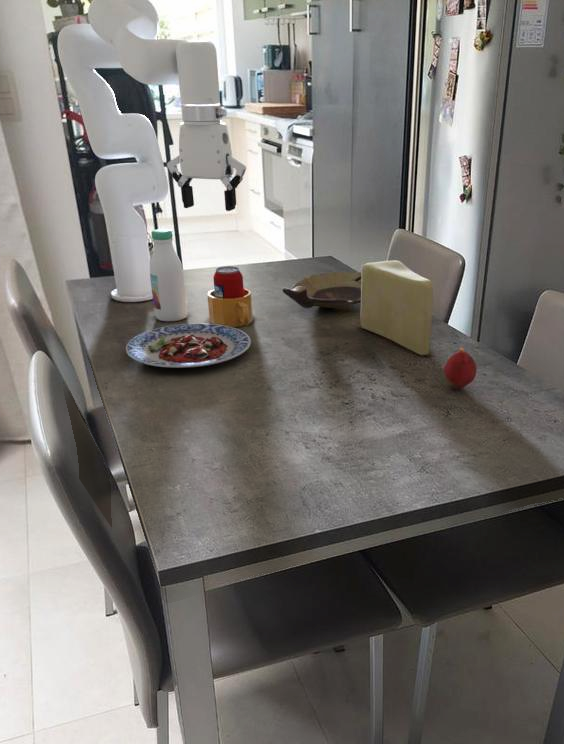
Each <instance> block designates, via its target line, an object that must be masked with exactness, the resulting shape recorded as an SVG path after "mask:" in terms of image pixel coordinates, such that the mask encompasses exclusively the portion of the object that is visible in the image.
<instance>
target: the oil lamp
mask: <svg viewBox="0 0 564 744" xmlns="http://www.w3.org/2000/svg"><path fill="white" fill-rule="evenodd" d="M361 276H362V271H333V272H322V273H317V274H312V275H310V276H308V277H307V276H306V277H304V278H302V279H300V280H299V281H297V282H296V283H295V284H294V285H293V286H292V288H288V287H283V288H282V290H281V291H282V293H283V294H284V295H286V296H287V297H289V298H290V299H292V301H294V302H295V303H296V304H297V305H299V306H300V307H301V308H303V309H310V308H313V307H317V308H318V307H319V308H326V309H327V308H328V309H330V308H331V309H335V308H345V307H350V306H352V305H357V304H361V282H359V281H360V280H361Z"/></svg>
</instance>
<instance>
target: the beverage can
mask: <svg viewBox="0 0 564 744" xmlns="http://www.w3.org/2000/svg"><path fill="white" fill-rule="evenodd" d="M244 288H245V286H244V276H243V273H242V272H241V270H240V268H239V267H238V266H232V265H226V266H219V267H217V268H216V269H215V272H214V274H213V290H214V291H215V298H221V299H234V298H239V297H243V296H244Z"/></svg>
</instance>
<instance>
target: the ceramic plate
mask: <svg viewBox="0 0 564 744" xmlns="http://www.w3.org/2000/svg"><path fill="white" fill-rule="evenodd" d="M251 342H252V341H251V338H250V336H249V335H248V333H246V332H244V331H243V330H241V329H239V328H236V327H229V326H224V325H218V324H212V323H203V322H202V323H201V322H200V323H199V322H197V323H196V322H195V323H179V324H173V325H172V324H171V325H166V326H160V327H157V328H153V329H151V330H147V331H144V332H142V333H140V334H138V335H136V336H134V337H133V338H132V339H130V340H129V341H128V343H127V344H126V345H125V352H126V354H127V355H128V357H129V358H131V359H132V360H134V361H136V362H138V363H141V364H144V365H147V366H153V367H160V368H173V369H174V368H175V369H176V368H177V369H179V368H180V369H182V368H183V369H184V368H197V367H205V366H210V365H211V366H212V365H215V364H219V363H224V362H226V361H230V360H232V359H235V358H236V357H237V358H238V356H240V355H242V354H244V353H245V352H247V350H249V348H250V346H251Z"/></svg>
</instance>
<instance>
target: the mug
mask: <svg viewBox="0 0 564 744" xmlns="http://www.w3.org/2000/svg"><path fill="white" fill-rule="evenodd" d="M207 307H208V318H209V324H218V325H224V326H229V327H233V328H236V327H242V326H248V325H250V324H251V323H253V318H254V316H253V299H252V291H251V290H249V289H248V288H245V287H244V296H243V297H239V298H234V299H221V298H215V291H214V289H212V290H210V291H208V292H207Z"/></svg>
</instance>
